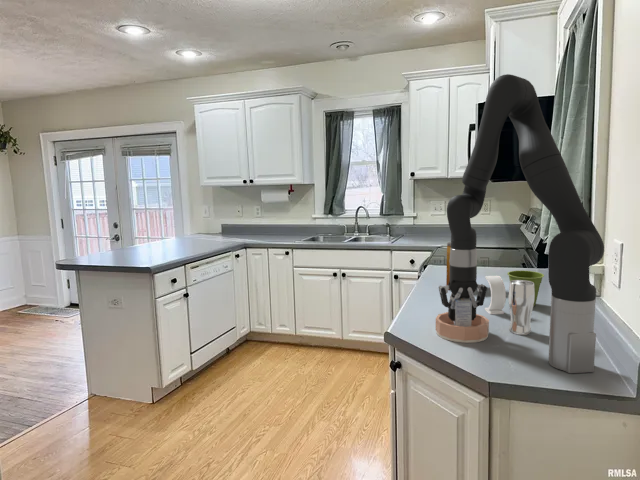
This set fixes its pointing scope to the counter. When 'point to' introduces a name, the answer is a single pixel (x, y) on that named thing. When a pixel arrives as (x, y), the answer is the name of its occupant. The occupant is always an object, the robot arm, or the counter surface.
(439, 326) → the bowl
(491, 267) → the counter surface
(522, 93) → the robot arm
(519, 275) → the plant pot
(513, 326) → the beer glass
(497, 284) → the headphone stand
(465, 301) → the medicine box
